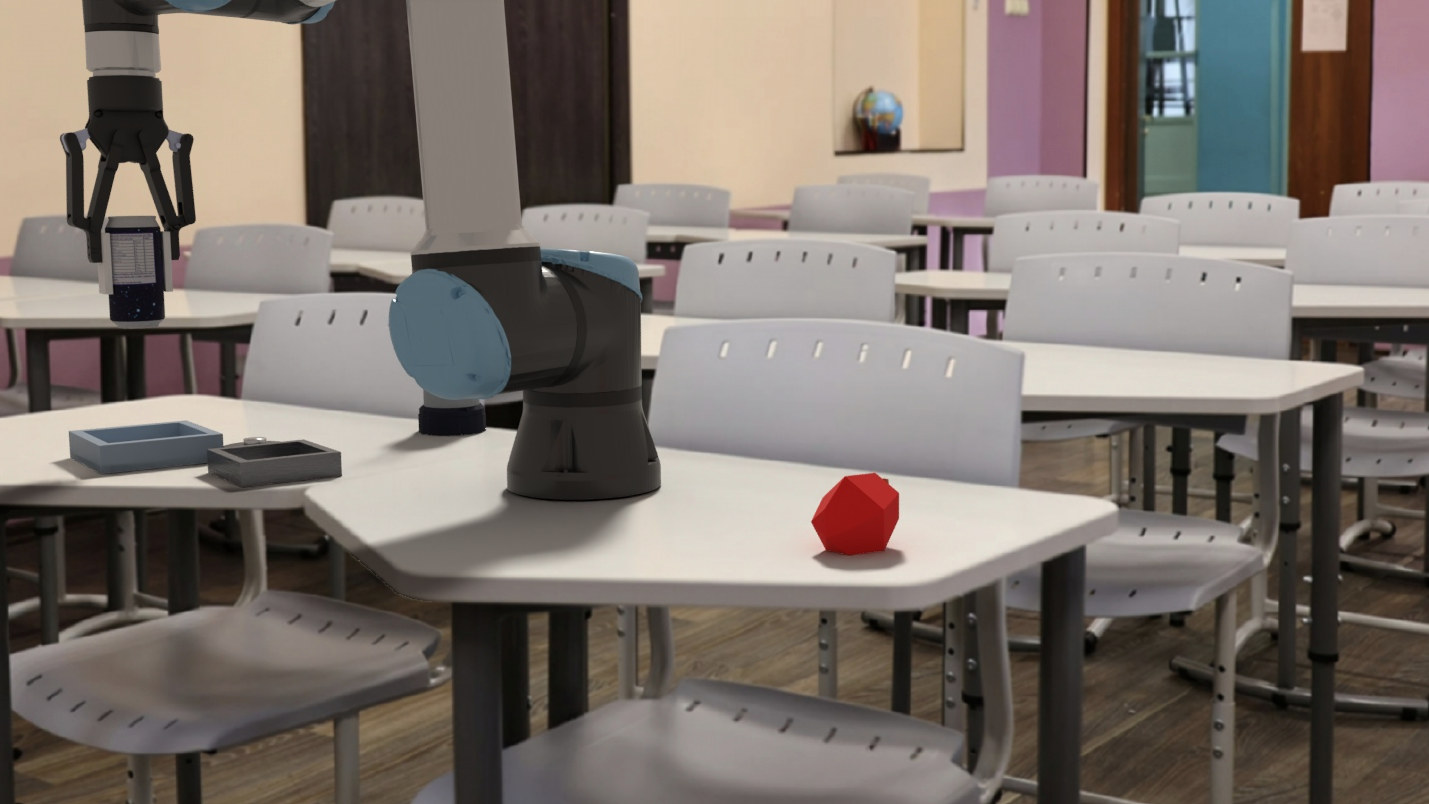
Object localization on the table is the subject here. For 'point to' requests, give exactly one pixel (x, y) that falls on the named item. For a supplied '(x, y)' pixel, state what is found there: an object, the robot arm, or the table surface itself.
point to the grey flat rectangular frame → (273, 462)
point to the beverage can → (136, 272)
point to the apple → (857, 515)
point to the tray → (143, 446)
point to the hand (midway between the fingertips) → (136, 291)
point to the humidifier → (451, 416)
